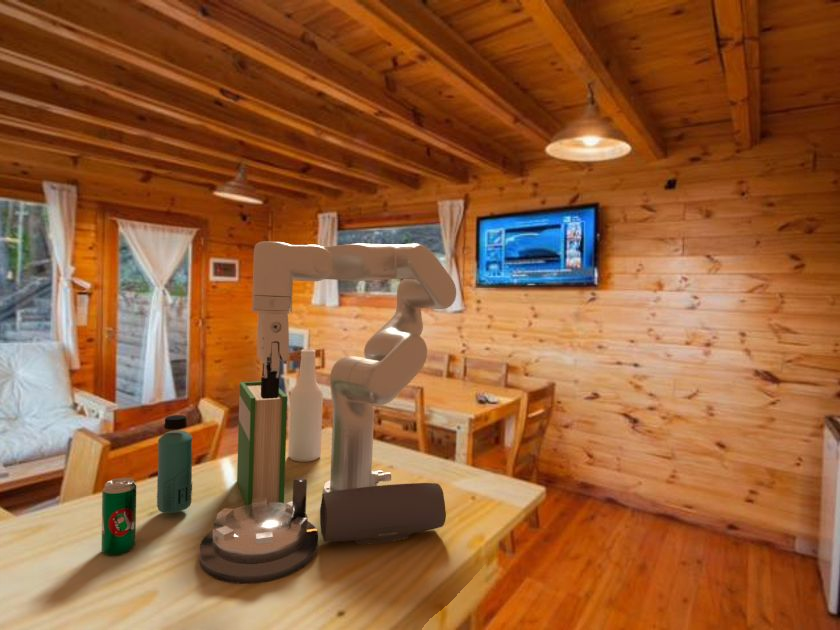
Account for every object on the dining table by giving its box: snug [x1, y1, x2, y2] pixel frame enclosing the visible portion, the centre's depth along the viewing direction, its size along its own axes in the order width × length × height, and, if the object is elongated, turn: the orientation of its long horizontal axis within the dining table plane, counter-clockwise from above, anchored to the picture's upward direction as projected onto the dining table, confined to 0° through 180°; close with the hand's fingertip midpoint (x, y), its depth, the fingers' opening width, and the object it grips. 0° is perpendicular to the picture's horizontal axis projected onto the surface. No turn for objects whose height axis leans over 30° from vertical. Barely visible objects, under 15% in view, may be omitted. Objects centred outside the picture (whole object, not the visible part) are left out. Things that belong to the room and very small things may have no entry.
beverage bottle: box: [156, 414, 194, 514], centre depth 99 cm, size 6×7×20 cm
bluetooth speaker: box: [319, 482, 447, 545], centre depth 93 cm, size 23×9×10 cm, turn 109°
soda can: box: [100, 477, 137, 557], centre depth 85 cm, size 5×5×12 cm
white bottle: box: [287, 348, 324, 463], centre depth 135 cm, size 9×9×30 cm
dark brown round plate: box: [198, 521, 319, 585], centre depth 87 cm, size 20×20×2 cm
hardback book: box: [236, 380, 288, 505], centre depth 110 cm, size 18×7×24 cm, turn 27°
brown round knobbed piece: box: [212, 477, 309, 563], centre depth 87 cm, size 16×16×10 cm
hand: (269, 397), depth 97 cm, fingers closed
